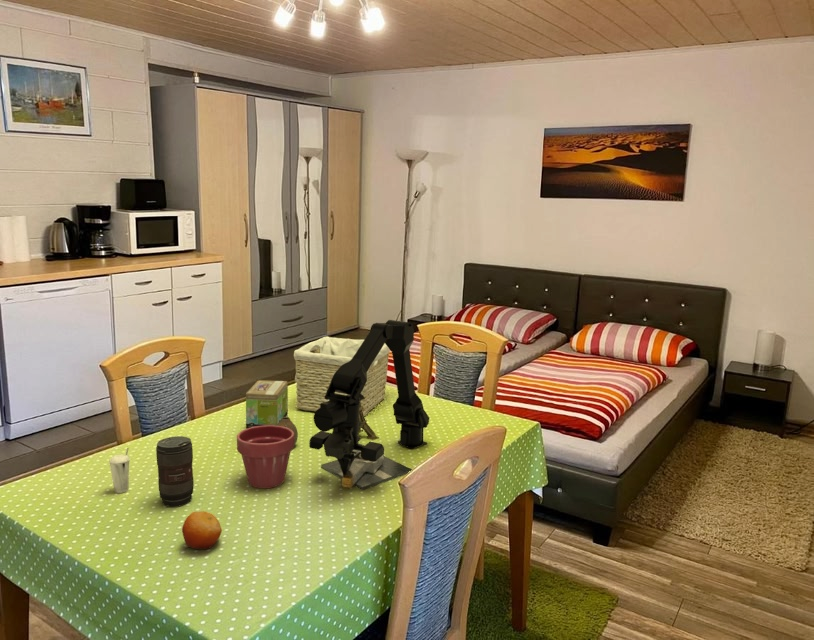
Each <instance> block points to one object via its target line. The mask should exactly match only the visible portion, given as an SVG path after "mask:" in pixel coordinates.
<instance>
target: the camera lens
mask: <svg viewBox="0 0 814 640" xmlns="http://www.w3.org/2000/svg"><path fill="white" fill-rule="evenodd" d="M155 451H156V455H155V456H156V466H157V472H158V481H157V482H158V493H159V497H160V499H161V503H162V505H164V506H165V507H171V508H174V507H175V508H176V507H180V506H184V505H187V504H188V503H189V502H191V500H192V495H193V493H194V486H195V482H194V472H193V471H194V469H193V468H194V467H193V459H194V454H193V453H194V452H193V451H194V450H193V443H192V439H191V438H189V437H187V436H177V435H176V436H170V437H166V438H163V439H160V440H158V441H157V443H156V447H155Z"/></svg>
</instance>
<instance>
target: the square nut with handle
mask: <svg viewBox="0 0 814 640" xmlns="http://www.w3.org/2000/svg"><path fill="white" fill-rule="evenodd" d="M384 456H385V453H384V454H383V455H382V456H381V457H380V458H379V459H378V460H377V461H375V462H372V461H367V460H363V459H359V455H358V456H357V457H356V458H355V459H354V461H353V463H352V465H351V467H350V470H349V471H348V472H347V473H346V474H345V475H344V476H343V478H342V479H341V480H342V481H341V482H342V486H341V487H343V488H349V489H350V488H352V487H353V486H354V484H355V483H356V481H357V480H358V479H359V478H360V477H361V476H362V475H363V474H364V473H365V472H370V473H375V472H376V471H377V470H378V468H379V467H380V466H381V465H382V464H383V463H384Z"/></svg>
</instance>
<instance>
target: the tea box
mask: <svg viewBox="0 0 814 640" xmlns="http://www.w3.org/2000/svg"><path fill="white" fill-rule="evenodd" d="M288 387H289V386H288V381H286V380H257V381H256V382H255V383H254V384H253V385H252V386H251V387H250V389H248V390H247V391H246V393H245V429H247V428H251V427H255V426H263V425H275V426H277V425H278V423H279V422H280V420H281V418H282V417H289V416H288V415H289V413H288V411H289V408H288V406H289V403H288V402H289V397H288V395H289V392H288V390H289V389H288Z"/></svg>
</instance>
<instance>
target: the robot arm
mask: <svg viewBox="0 0 814 640" xmlns="http://www.w3.org/2000/svg"><path fill="white" fill-rule="evenodd" d="M414 335H415V328H414V326H413V324H412V323H411V322H409V321H403V320H402V321H400V320H394V319H388V320H387V321H386V322H375V323H372V325H371V326H370V330H369V332H368V334H367V335H366V337H365V338H364V339H363V340H364V341H363V343H362V344H361V346H360V347H359V349H358V350H357V352H356V353H355V355H354V356H353V358H352V359H351V360H350V361H349V362H347V363H345V364H343V365H342V366H341V367H340V368H339V369H338V370H337V371H336V372H335V374H334V375H333V377H332V380H331V382H330V385H329V387H328V390H327V392H326V395H325V399H327V400H329V401H327V402H323V403H321V404H320V408H319V409H318V410H316V412H315V411H314V414H313V422H314V425H315V427H316V428H317V429H318V430H319V431H318V432H316V433H315V434H314V435H312V436H310V439H309V443H308V444H309V445H308V446H309V448H310V449H315V450H320V449H322V448H324V449H323V450H324V455H325V456H326V457H331V458H335V459H336V460H338V462H339V464H340V467H341V470H342V472H343V476H344V475H345V474H346V473H347V472H348V471H349V469H350V467H351V465H352V463H353V461H354V459H355V458H356V457H357V456H358V455H360V454H361V457H362V459H363V460H367V461H372V462H375V461H377V460H378V459H379V458H380V457H381V456H382V455H383V454H384V455H385V447H384V445H383V444H382V443H379V442H374V441H369V442H368V443H366V444H363V443H360V441H361V436H359V433H358V431H359V426H360V425H361V421H359V407H360V401H361V400H363V399H364V396H363V395H362V394H361V392H362V390H363V388H364V386H365V384H366V382H367V371H368V369H369V367H370V366H371V364H372V363H373V361H374V360H375V358H376V356H377V355H378V353H379V352H380V350H381V349H382V347H383V345H384V344H386V345H387V347H388V348H389V349H390V351H391V354H392V361H393V367H394V368H393V369H394V376H395V380H396V388H397V398H396V400H395V402H394V403H393V404H392V408H393V416H394V418H395V423H396V425H397V424H398V425H400V427H401V428H400V431H399V440H398V441H397V444H398V445H401V446H403V447H406V448H408V449H410V450H414V449H416V448H419V447H422V446H425V445H427V443H428V442H427V441H424V429H425V428H428V425H429V424H430V416H429V415H428V413H427V412H426V411H425V408H424V405H423V404H424V403H423V401H422V399H421V398H420V396H418V394H417V393H416V389H415V380H414V374H413V373H414V372H413V366H412V365H413V364H412V360H411V353H410V352H411V351H410V348H411V346H412V344H413V342H414V340H415V339H414V338H415V337H414ZM335 392H339V393H344V394H348V395H341V394H336V393H335ZM330 430H332V432H329V431H330ZM358 442H359V443H358Z"/></svg>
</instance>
